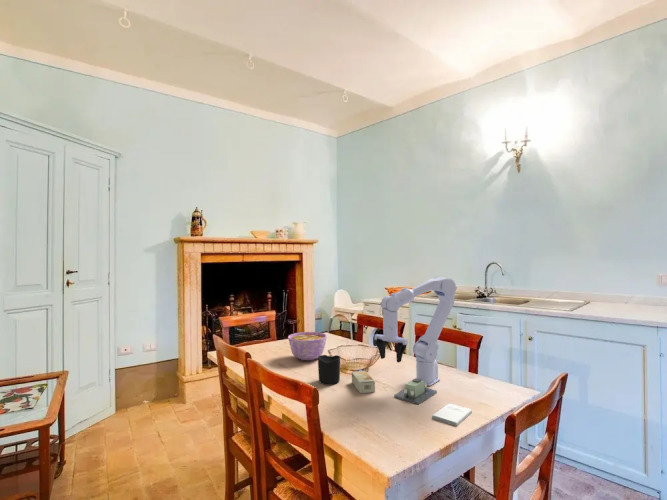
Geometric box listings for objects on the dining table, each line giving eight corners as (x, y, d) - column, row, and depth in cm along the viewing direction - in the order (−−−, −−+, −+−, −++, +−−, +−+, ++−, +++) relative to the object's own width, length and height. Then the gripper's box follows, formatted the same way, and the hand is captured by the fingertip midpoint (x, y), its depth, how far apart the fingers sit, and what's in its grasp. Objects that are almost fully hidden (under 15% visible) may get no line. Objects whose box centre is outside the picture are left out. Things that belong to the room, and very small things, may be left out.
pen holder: (327, 387, 144) (327, 362, 144) (313, 381, 151) (313, 357, 151) (345, 381, 150) (344, 357, 150) (331, 375, 157) (330, 353, 157)
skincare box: (359, 382, 137) (350, 372, 149) (359, 393, 137) (351, 382, 149) (375, 380, 138) (365, 370, 150) (375, 391, 138) (365, 381, 150)
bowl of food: (281, 362, 177) (281, 339, 178) (297, 352, 197) (297, 331, 197) (319, 365, 172) (319, 341, 172) (332, 354, 191) (331, 332, 191)
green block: (415, 389, 138) (414, 377, 138) (424, 391, 135) (424, 379, 135) (405, 394, 133) (405, 382, 133) (415, 397, 130) (414, 384, 130)
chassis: (413, 386, 143) (413, 378, 143) (436, 392, 136) (436, 384, 136) (394, 397, 133) (394, 388, 133) (418, 404, 126) (418, 395, 126)
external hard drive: (432, 420, 115) (448, 407, 125) (456, 427, 110) (472, 413, 119) (431, 414, 115) (448, 402, 125) (456, 422, 110) (472, 409, 119)
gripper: (369, 325, 146) (370, 358, 146) (400, 330, 136) (401, 365, 136) (379, 322, 151) (380, 355, 151) (410, 327, 142) (410, 361, 141)
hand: (390, 360), depth 144 cm, fingers open, 7 cm apart
